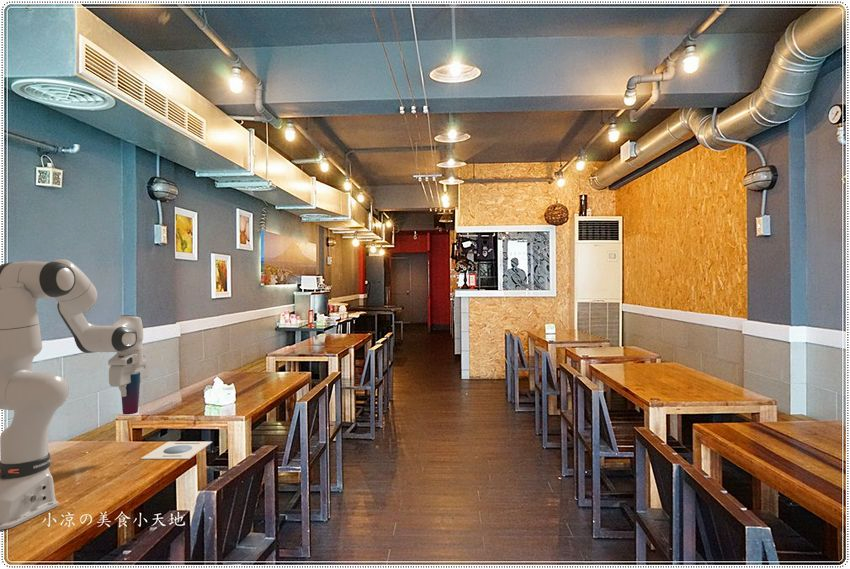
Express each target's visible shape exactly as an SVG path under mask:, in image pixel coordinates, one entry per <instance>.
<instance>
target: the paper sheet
mask: <svg viewBox="0 0 850 569" xmlns="http://www.w3.org/2000/svg"><path fill="white" fill-rule="evenodd" d="M212 443H213V441H166V442H165V443H164V444H162V445H160V446H159V447H156V448H155V449H154V450H152V451H150V452H149V453H147V454H145V455H143V456H142V457H140V460H190V459H191V458H193V457H194V456H195V455H197V454H198V453H200V452H201V451H202V450H203V449H205V448H207V447H208V446H209V445H211V444H212Z"/></svg>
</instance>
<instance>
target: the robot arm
mask: <svg viewBox="0 0 850 569" xmlns="http://www.w3.org/2000/svg"><path fill="white" fill-rule="evenodd" d="M46 298H47V299H48V298H54V299H55V300H56V301H57V306H56V309H57V311H58V312H57V313H58V314H59V315H60V318H61V319H62V320H63V322H64V324H65V325H66V327H67V329H68V330H69V331H70V334H72V337H73V338H74V342H75V345H76V347H77V348H78V349H79V351H80V352H82V353H86V354H91V353H115V354H114V355H113V356H112V357H111V358H110V359H108V362H107V363H108V364H107V365H108V366H109V368H108V383H109V386H110V387H111V388H113V387H114V388H117V387H118V389H119V391H120V396H122V397H125V396H128V391H126V387H127V384H129V383H131V376H130V375H131V374H138V373H139V372H140V385H141V383H142V380H144V379H148V378H149V375H150V369H149V363H148V360H147V358H146V356H145V355H144V347H143V340H144V327H143V321H142V318H141V317H140V316H138V315H134V314H133V315H132V314H131V315H129V314H123V315H119V316H118V318H117V321H116V322H114V323H113V324H110V325H97V324H92V323H89V322H88V321H87V318H86V317H85V315H84V313H86V312H87V311H89V310H90V309H92V307H93V306H95V304H96V302H97V300H98V290H97V288H96V286H95V285H94V283H93V282H92V281H91V279H90V278H89V277H88V276H87V275H86V274H85V273H84V272H83V271H82V270H81V269H80V267H78V266H77V265H76V264H75V263H74V262H72V261H70V260H68V259H64V258H63V259H62V258H60V259H55V260H54V259H53V260H52V261H37V260H25V261H18V262H17V261H11V262H7V263H3V264H0V410H6V411H13V414H14V415H13V418H12V421H11V423H10V425H9V426H8V427H6V428H5V429H4V430H3V431H2V433H0V531H1V530H6V529H7V530H8V529H11V528H14V527H15V526H18V525H20V524H22V523H24V522H27V521H28V520H31V519H33V518H35V517H37V516H39V515H41V514H43V513H46V512H47V511H49V510H53V509H54V508H56V507H58V506H59V501H58V500H57V499H56V494H55V486H54V478H53V477H54V476H53V475H52V474H51V472H50V466H51V461H52V460H51V453H50V452H49V437H50V436H49V434H50V433H49V432H50V425H51V422H52V420H53V416H54V414H55V413H56V412H57V410H58V409H59V408H60V407H62V406H63V405H64V403H66V401H67V399H68V397H69V394H70V387H69V383H68V382H67V380H66V379H65V378H64V377H63V376H59V375H56V374H53V373H49V372H33V371H32V365H33V361H34V358H35V357H36V356H38V355H39V354H40V353H41V351H42V349H43V343H42V332H41V326H40V325H41V324H40V318H39V315H38V314H39V313H38V309H37V306H36V304H37V301H38V299H46ZM122 397H121V398H122Z"/></svg>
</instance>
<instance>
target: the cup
mask: <svg viewBox="0 0 850 569" xmlns="http://www.w3.org/2000/svg"><path fill="white" fill-rule="evenodd" d="M130 376H131V383H129V384H127V387H126V391H128V396H125V397H122V396H121V395H120V396H121V406H122V407H121V408H122V409H121V410H122V415H135V414H137V413H139V402H140V399H139V398H140V387H141V384H140V372H139V373H138V374H131V375H130Z"/></svg>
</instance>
